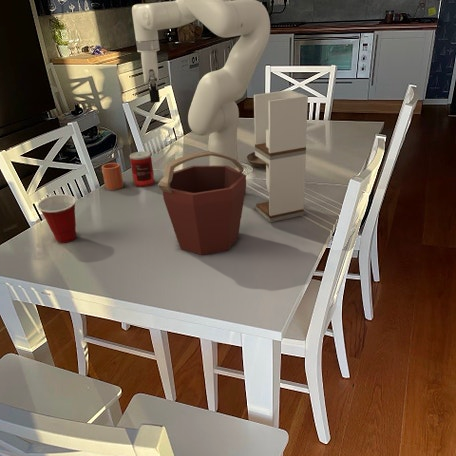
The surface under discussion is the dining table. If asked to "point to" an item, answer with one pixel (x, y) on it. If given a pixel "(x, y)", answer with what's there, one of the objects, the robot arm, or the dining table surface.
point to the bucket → (204, 203)
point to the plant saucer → (256, 161)
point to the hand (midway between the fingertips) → (154, 99)
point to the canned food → (142, 168)
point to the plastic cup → (60, 216)
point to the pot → (112, 176)
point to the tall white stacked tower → (282, 151)
